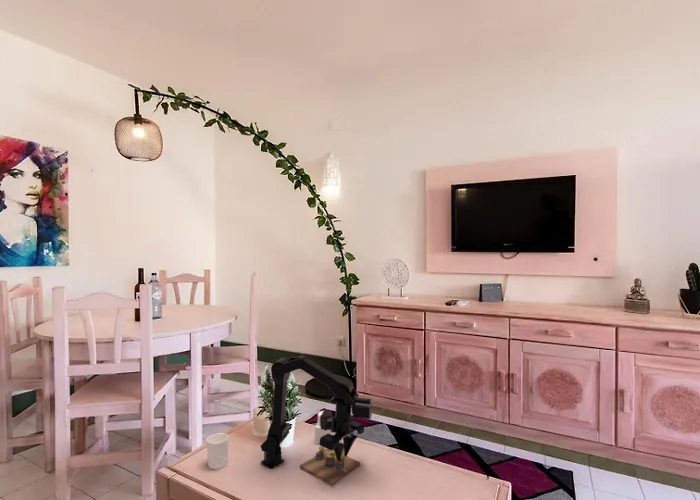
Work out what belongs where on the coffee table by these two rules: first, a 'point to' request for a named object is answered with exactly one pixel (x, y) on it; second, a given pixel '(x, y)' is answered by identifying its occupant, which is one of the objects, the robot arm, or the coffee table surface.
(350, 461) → the post base
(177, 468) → the coffee table surface
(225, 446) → the white cup
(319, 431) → the medicine bottle
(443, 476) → the coffee table surface
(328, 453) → the crank handle
